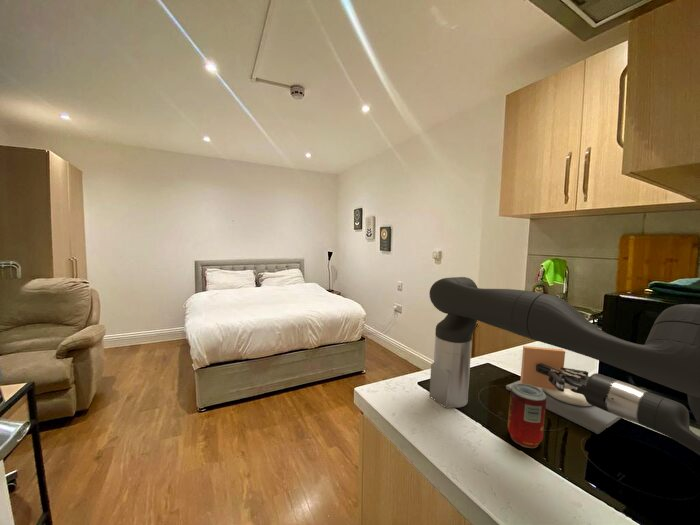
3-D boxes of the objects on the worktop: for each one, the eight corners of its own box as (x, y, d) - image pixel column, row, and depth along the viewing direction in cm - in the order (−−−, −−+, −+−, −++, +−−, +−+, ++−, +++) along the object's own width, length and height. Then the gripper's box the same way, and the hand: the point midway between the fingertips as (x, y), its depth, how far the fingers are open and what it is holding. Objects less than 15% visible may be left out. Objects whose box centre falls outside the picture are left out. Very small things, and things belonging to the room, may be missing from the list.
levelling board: (595, 436, 65) (596, 424, 65) (502, 389, 84) (503, 380, 84) (636, 407, 77) (637, 397, 77) (547, 372, 96) (547, 364, 96)
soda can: (549, 450, 60) (554, 397, 59) (518, 450, 60) (522, 396, 59) (529, 429, 67) (533, 381, 66) (500, 429, 67) (504, 380, 66)
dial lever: (579, 385, 86) (583, 345, 84) (607, 409, 74) (612, 362, 73) (513, 378, 89) (516, 339, 88) (529, 399, 77) (533, 355, 76)
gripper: (631, 375, 68) (552, 350, 83) (604, 387, 62) (523, 358, 77) (628, 406, 69) (550, 375, 84) (601, 421, 63) (522, 385, 78)
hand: (537, 367), depth 81 cm, fingers closed
